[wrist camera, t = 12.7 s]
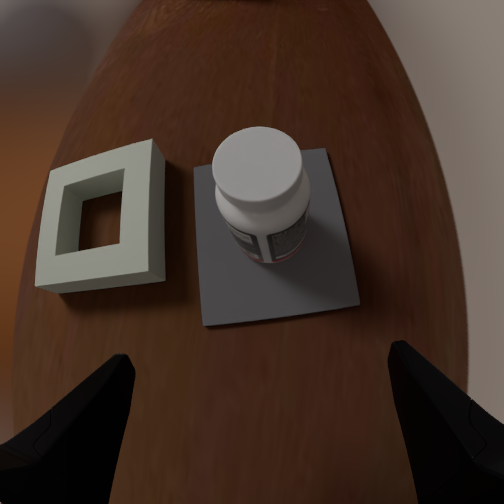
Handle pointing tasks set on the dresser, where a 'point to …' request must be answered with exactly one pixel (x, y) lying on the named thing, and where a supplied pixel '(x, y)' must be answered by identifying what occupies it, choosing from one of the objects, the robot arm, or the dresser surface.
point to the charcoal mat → (280, 273)
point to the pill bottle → (262, 192)
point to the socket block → (131, 228)
